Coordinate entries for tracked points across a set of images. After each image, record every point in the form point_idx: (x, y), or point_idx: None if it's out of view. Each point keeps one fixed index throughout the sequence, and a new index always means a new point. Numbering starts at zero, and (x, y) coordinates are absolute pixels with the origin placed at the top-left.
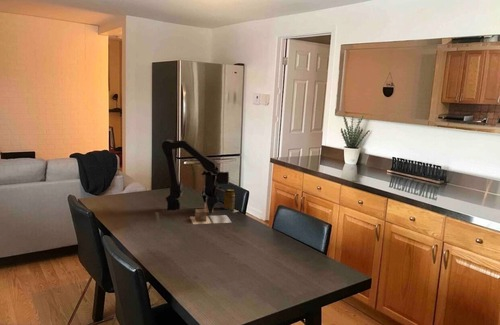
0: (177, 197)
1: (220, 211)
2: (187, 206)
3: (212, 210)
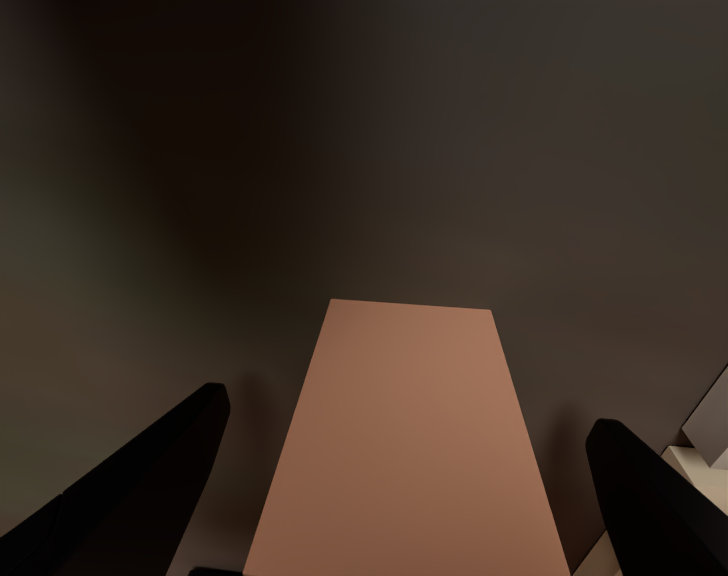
0: None
1: (279, 50)
2: None
3: (504, 390)
